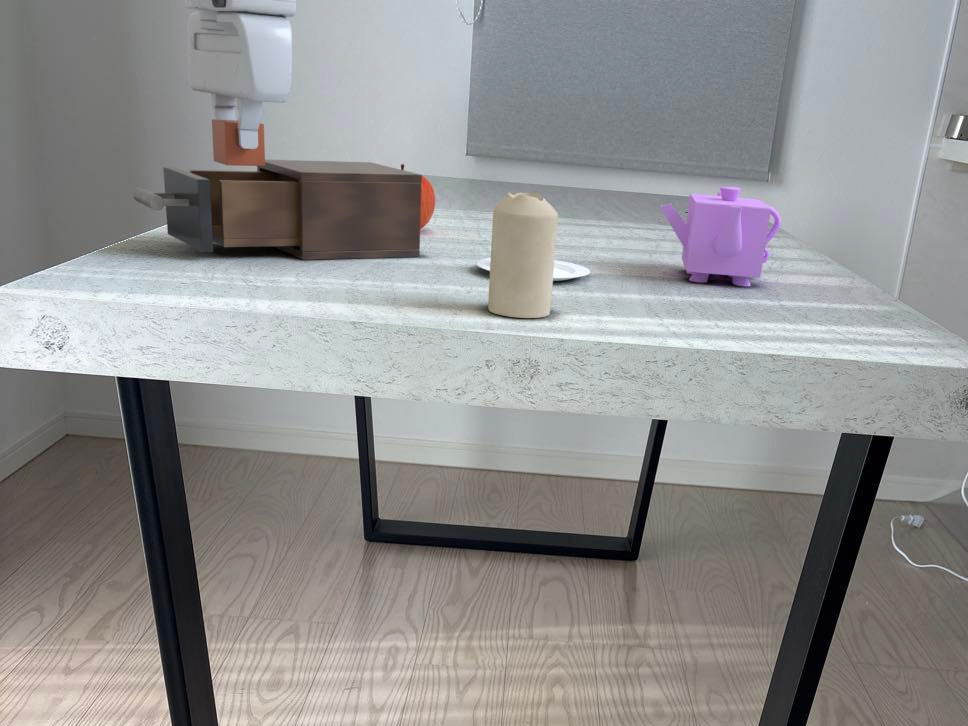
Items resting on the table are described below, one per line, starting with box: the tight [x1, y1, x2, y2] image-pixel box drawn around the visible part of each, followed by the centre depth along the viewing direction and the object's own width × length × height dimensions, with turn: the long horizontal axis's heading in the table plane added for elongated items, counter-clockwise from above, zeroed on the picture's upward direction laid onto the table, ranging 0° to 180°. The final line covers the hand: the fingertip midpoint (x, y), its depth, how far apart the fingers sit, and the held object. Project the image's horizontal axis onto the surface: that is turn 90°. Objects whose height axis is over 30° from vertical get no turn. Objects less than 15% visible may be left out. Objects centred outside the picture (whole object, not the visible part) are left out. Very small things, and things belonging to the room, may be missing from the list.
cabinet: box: [256, 159, 423, 261], centre depth 115 cm, size 14×13×9 cm
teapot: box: [660, 185, 782, 287], centre depth 115 cm, size 18×13×10 cm
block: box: [211, 118, 266, 167], centre depth 107 cm, size 4×4×4 cm
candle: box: [487, 192, 559, 319], centre depth 91 cm, size 6×6×10 cm
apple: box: [400, 163, 436, 230], centre depth 132 cm, size 8×8×8 cm
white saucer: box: [475, 257, 591, 282], centre depth 110 cm, size 12×12×4 cm
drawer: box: [132, 166, 300, 253], centre depth 109 cm, size 16×11×7 cm
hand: (238, 145), depth 107 cm, fingers closed on block, 4 cm apart
